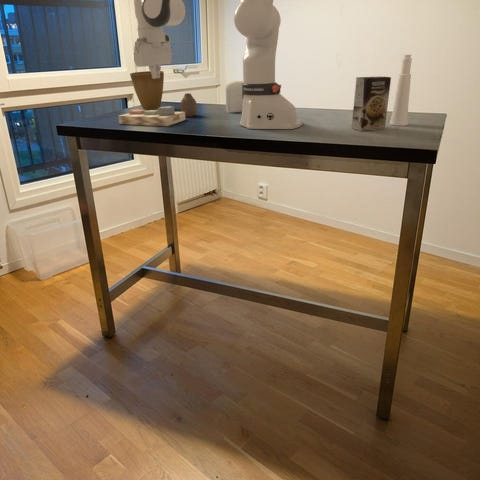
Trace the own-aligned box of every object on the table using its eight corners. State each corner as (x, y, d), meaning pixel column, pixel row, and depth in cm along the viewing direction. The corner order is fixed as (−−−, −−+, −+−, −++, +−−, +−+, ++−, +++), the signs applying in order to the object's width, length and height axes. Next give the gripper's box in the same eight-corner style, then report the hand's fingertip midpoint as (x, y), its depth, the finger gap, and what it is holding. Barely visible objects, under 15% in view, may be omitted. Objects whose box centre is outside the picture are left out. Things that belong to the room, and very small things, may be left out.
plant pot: (145, 106, 205) (141, 71, 198) (172, 107, 200) (169, 70, 193) (128, 111, 192) (123, 73, 185) (157, 112, 187) (153, 73, 181)
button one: (146, 117, 168) (145, 109, 167) (140, 119, 164) (139, 111, 163) (137, 117, 169) (136, 109, 168) (130, 119, 166) (129, 110, 164)
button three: (160, 118, 166) (159, 109, 164) (154, 120, 162) (153, 111, 161) (150, 117, 167) (150, 109, 166) (144, 119, 164) (143, 111, 162)
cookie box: (361, 131, 137) (366, 78, 130) (351, 128, 143) (355, 76, 136) (385, 129, 139) (392, 76, 133) (374, 125, 145) (380, 75, 138)
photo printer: (228, 113, 179) (226, 82, 173) (225, 112, 182) (223, 81, 177) (251, 111, 181) (250, 80, 176) (247, 110, 185) (247, 80, 180)
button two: (174, 114, 163) (173, 106, 161) (168, 116, 159) (168, 107, 158) (164, 114, 164) (163, 105, 163) (158, 116, 161) (157, 107, 159)
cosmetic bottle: (398, 126, 143) (407, 55, 133) (385, 123, 148) (393, 55, 138) (411, 124, 145) (421, 54, 136) (398, 122, 150) (407, 54, 141)
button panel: (185, 119, 167) (184, 111, 166) (167, 126, 156) (166, 117, 154) (140, 117, 175) (139, 110, 173) (119, 123, 163) (118, 115, 162)
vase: (195, 117, 172) (193, 94, 168) (178, 117, 173) (176, 94, 170) (199, 114, 178) (198, 92, 174) (184, 114, 180) (182, 92, 176)
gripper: (142, 37, 144) (148, 80, 150) (172, 36, 161) (176, 75, 167) (127, 38, 146) (133, 81, 152) (158, 38, 163) (162, 76, 169)
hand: (156, 78), depth 160 cm, fingers closed
